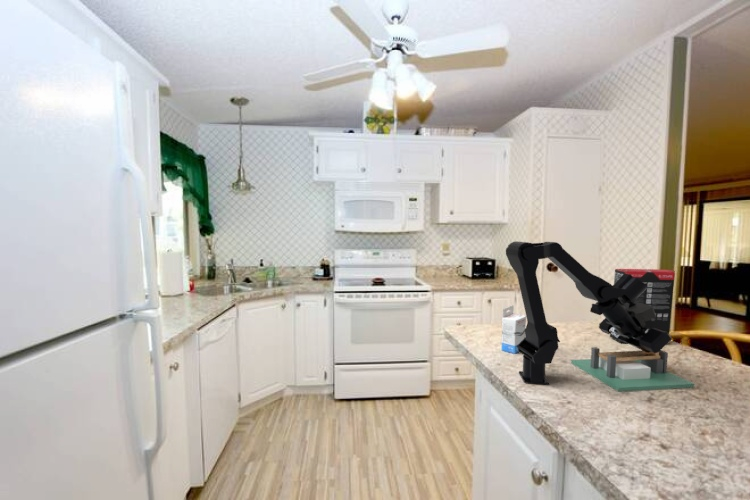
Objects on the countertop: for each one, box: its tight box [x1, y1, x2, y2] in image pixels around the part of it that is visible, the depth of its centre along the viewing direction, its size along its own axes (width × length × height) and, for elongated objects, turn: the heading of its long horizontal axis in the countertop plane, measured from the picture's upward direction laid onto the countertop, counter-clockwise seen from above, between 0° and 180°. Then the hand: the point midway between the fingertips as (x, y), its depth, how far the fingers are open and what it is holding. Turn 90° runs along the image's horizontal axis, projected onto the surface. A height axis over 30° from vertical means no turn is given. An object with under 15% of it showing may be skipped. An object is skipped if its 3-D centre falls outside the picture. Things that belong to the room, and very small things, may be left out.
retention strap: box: [598, 350, 660, 361], centre depth 96 cm, size 16×4×4 cm, turn 96°
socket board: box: [570, 346, 695, 392], centre depth 96 cm, size 22×18×7 cm
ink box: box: [501, 305, 527, 355], centre depth 116 cm, size 8×5×15 cm, turn 134°
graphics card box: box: [609, 268, 676, 346], centre depth 122 cm, size 17×7×27 cm, turn 84°
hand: (648, 351), depth 97 cm, fingers closed, pressing on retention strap
